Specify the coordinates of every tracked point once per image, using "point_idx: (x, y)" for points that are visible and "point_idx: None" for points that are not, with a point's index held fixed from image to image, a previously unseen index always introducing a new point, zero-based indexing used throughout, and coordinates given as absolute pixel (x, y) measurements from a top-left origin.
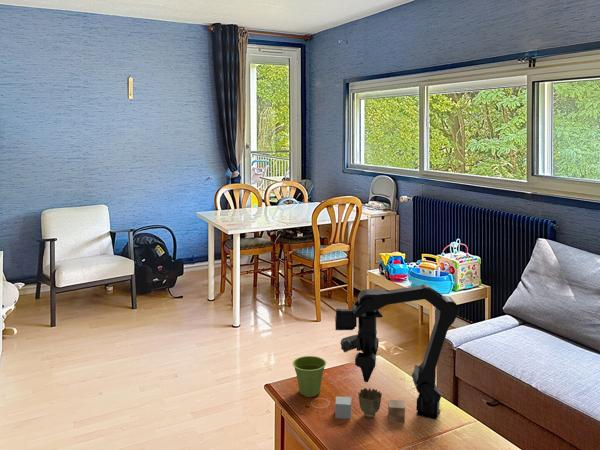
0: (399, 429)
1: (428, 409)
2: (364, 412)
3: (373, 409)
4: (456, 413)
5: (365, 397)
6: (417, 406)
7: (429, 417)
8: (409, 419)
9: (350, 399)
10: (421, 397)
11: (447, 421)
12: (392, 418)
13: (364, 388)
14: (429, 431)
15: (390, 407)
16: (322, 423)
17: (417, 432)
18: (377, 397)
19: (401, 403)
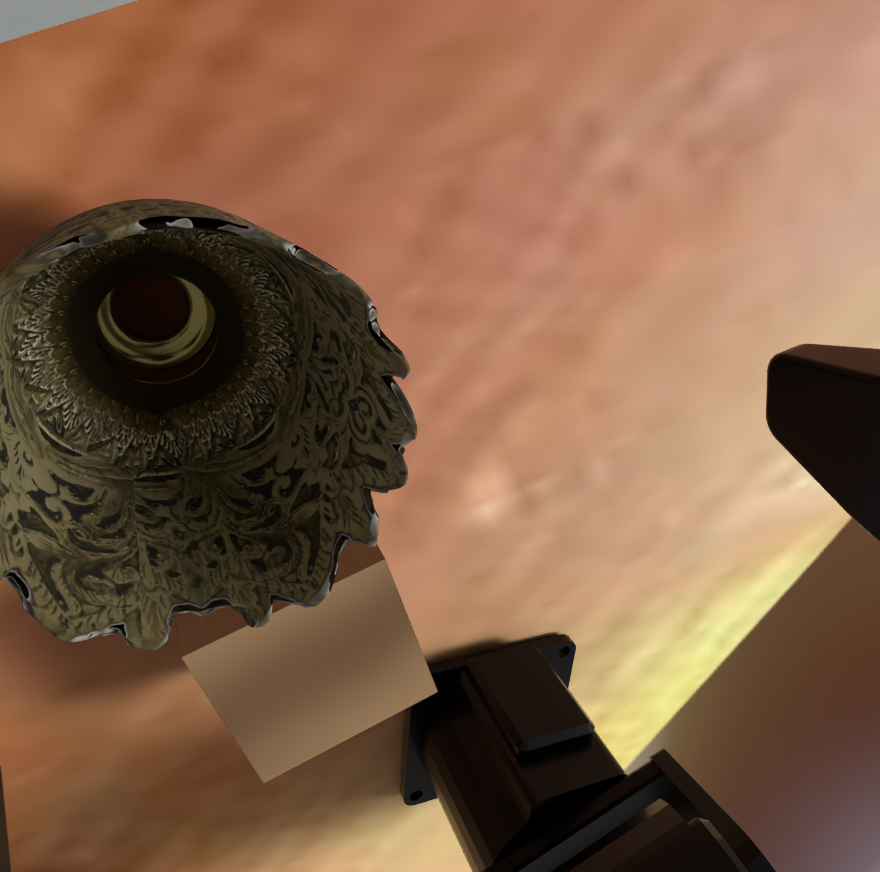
0: (65, 683)
1: (443, 804)
2: (26, 306)
3: (45, 483)
4: None
5: (290, 262)
6: (483, 697)
7: (404, 765)
8: None
9: (55, 4)
10: (513, 826)
11: (416, 844)
12: None
13: (347, 283)
14: (197, 848)
15: (189, 669)
16: None
17: (118, 804)
18: (331, 459)
19: (356, 706)
